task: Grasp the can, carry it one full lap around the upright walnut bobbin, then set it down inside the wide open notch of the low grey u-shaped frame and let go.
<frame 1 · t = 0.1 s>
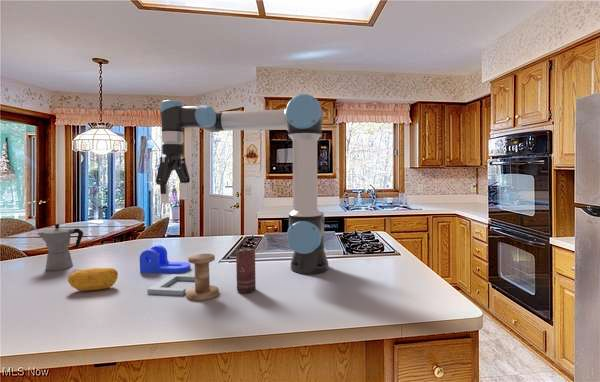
hand: (174, 201, 122), 28 cm above the counter, fingers open, 13 cm apart
grey u-shaped frame: (176, 286, 112), on the counter
can: (246, 291, 107), on the counter
bracket: (167, 270, 130), on the counter
potato: (94, 290, 109), on the counter
coffeepot: (62, 267, 134), on the counter
bobbin: (202, 294, 104), on the counter
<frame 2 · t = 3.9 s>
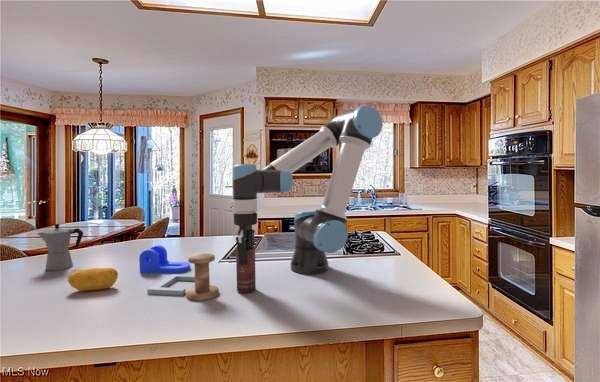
hand: (246, 283, 107), 2 cm above the counter, fingers closed
can: (246, 291, 107), on the counter, touching hand
everything else where it was.
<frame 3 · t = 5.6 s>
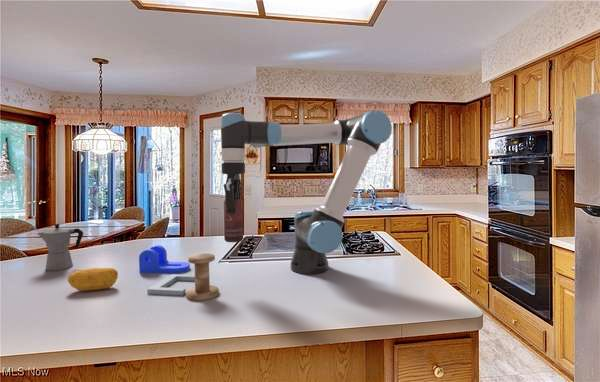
hand: (234, 233, 108), 19 cm above the counter, fingers closed
can: (234, 241, 108), point 16 cm above the counter, touching hand
everything else where it was.
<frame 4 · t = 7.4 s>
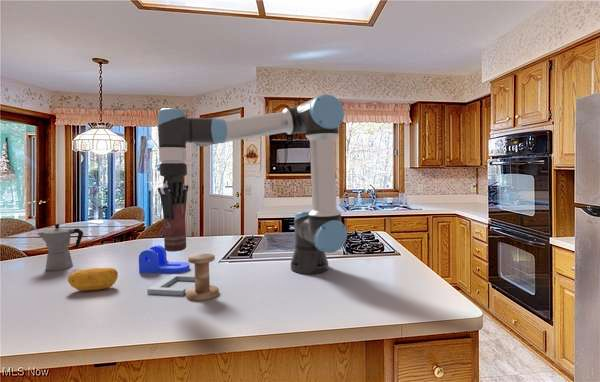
hand: (176, 241, 98), 18 cm above the counter, fingers closed
can: (176, 250, 98), point 16 cm above the counter, touching hand
everything else where it was.
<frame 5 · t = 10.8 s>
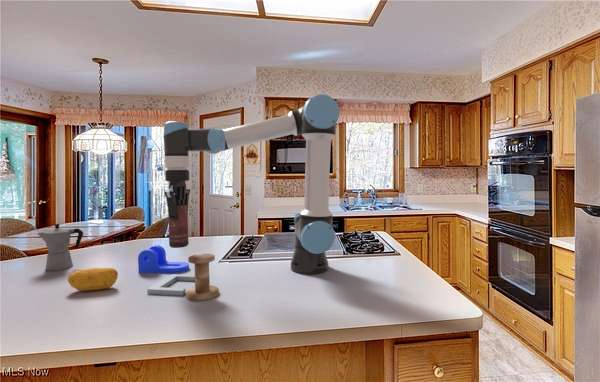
hand: (179, 239, 110), 16 cm above the counter, fingers closed
can: (179, 246, 110), point 14 cm above the counter, touching hand
everything else where it was.
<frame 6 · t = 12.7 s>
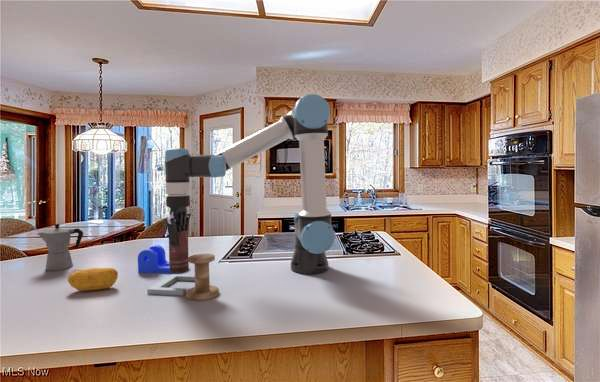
hand: (179, 264, 111), 8 cm above the counter, fingers closed
can: (179, 271, 111), point 5 cm above the counter, touching hand
everything else where it was.
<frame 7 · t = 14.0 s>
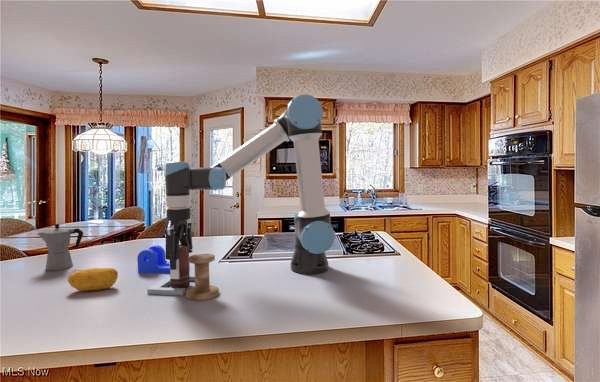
hand: (180, 274, 111), 4 cm above the counter, fingers open, 7 cm apart
can: (180, 286, 111), on the counter
everything else where it was.
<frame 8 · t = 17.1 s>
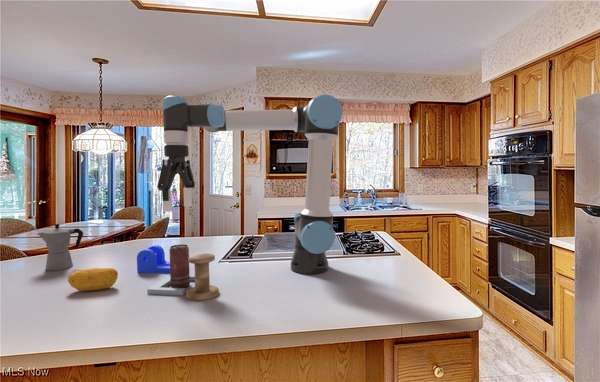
hand: (178, 208, 109), 27 cm above the counter, fingers open, 13 cm apart
at the end: can inside the target area on the grey u-shaped frame (0.4 cm from its centre), point 0.0 cm above the grey u-shaped frame's base; can tilted 0°; the gripper is holding nothing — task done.
